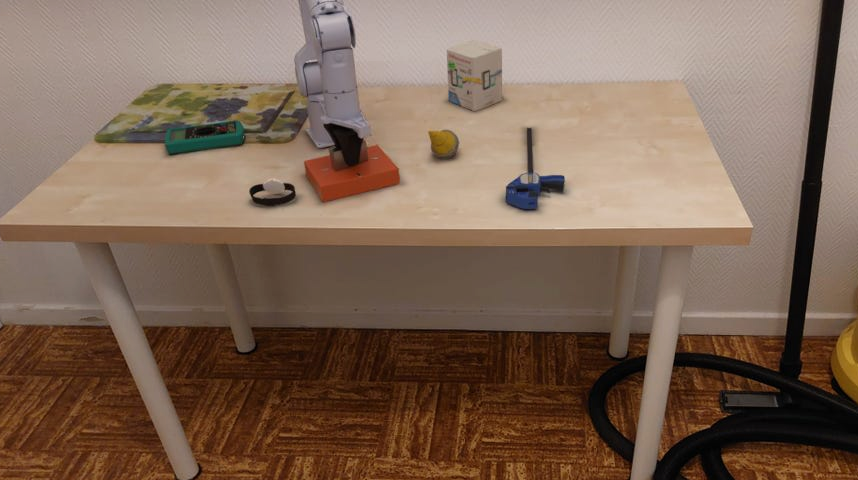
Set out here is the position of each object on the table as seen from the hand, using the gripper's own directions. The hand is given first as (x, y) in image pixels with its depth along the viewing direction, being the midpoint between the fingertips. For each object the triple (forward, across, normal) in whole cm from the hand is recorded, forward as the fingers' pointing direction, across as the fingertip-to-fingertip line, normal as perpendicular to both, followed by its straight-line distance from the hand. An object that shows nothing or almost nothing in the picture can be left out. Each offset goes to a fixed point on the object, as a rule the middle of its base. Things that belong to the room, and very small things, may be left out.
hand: (350, 161), depth 130 cm
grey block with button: (0, 0, 0) cm, 0 cm away
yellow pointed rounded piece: (+4, +4, +18) cm, 18 cm away
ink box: (+4, -15, +39) cm, 41 cm away
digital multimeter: (+4, -33, -15) cm, 36 cm away
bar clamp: (+4, +17, +28) cm, 33 cm away
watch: (+4, -2, -14) cm, 15 cm away
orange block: (+3, 0, 0) cm, 3 cm away
